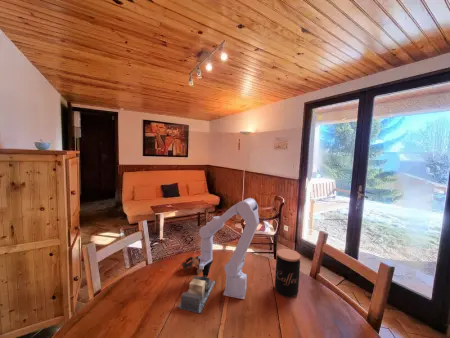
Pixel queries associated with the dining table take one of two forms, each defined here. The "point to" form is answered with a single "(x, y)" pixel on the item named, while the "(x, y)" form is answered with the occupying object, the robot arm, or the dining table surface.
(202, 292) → the block
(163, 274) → the dining table surface
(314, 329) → the dining table surface
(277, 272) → the coffee jar
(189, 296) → the vise
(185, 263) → the pottery mug
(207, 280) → the jaw
